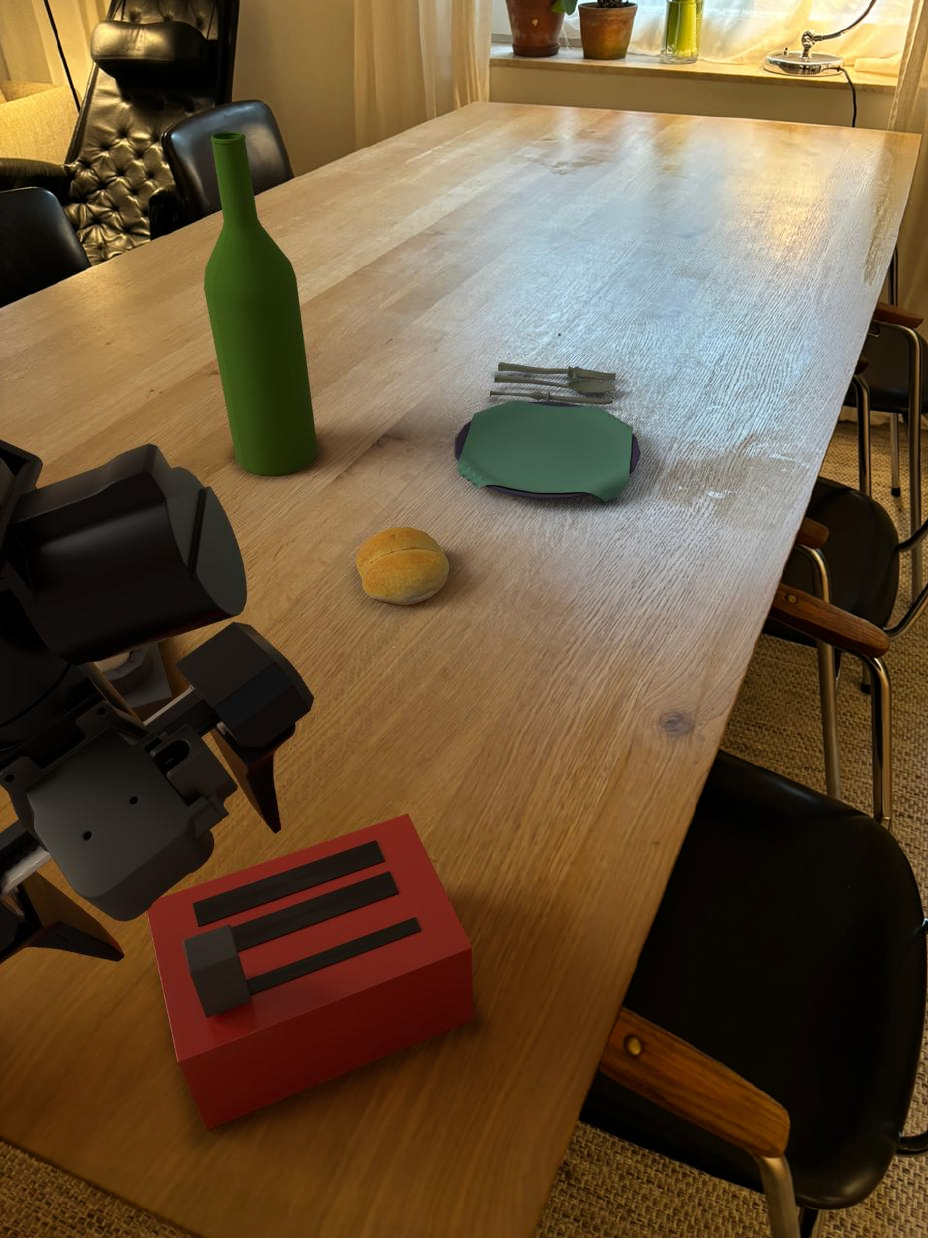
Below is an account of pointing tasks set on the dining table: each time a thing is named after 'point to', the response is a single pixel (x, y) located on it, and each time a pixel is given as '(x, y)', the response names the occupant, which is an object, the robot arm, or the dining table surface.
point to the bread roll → (402, 566)
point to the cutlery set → (549, 441)
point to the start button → (112, 662)
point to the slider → (216, 970)
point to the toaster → (315, 967)
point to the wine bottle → (257, 328)
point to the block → (142, 681)
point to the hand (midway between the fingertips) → (199, 888)
